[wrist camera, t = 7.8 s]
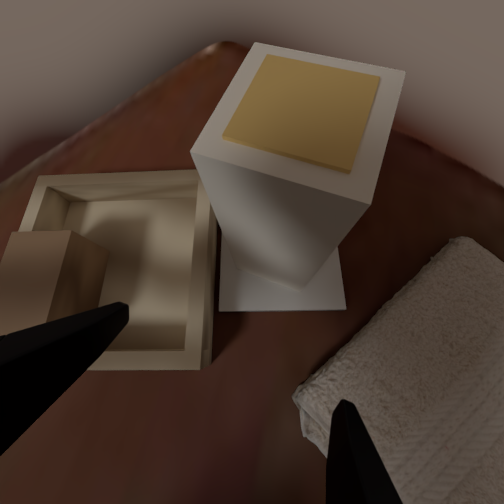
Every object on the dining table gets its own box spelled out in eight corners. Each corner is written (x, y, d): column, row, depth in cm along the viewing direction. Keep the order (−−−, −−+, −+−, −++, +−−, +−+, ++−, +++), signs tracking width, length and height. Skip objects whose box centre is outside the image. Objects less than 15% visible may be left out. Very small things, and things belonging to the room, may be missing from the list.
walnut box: (89, 347, 16) (38, 350, 13) (34, 347, 17) (-33, 350, 13) (109, 251, 19) (71, 230, 15) (61, 252, 19) (12, 231, 15)
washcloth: (279, 399, 16) (282, 413, 13) (442, 236, 19) (474, 218, 16) (433, 600, 12) (485, 681, 9) (600, 359, 16) (676, 364, 13)
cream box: (300, 292, 17) (373, 201, 6) (236, 268, 18) (188, 147, 6) (320, 231, 19) (409, 63, 7) (261, 212, 19) (256, 34, 8)
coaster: (343, 310, 17) (346, 309, 16) (220, 311, 17) (218, 311, 17) (328, 202, 20) (330, 198, 20) (224, 205, 20) (222, 202, 20)
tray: (211, 364, 16) (200, 369, 13) (17, 364, 17) (-32, 370, 14) (219, 191, 21) (212, 168, 18) (67, 196, 22) (38, 175, 19)
